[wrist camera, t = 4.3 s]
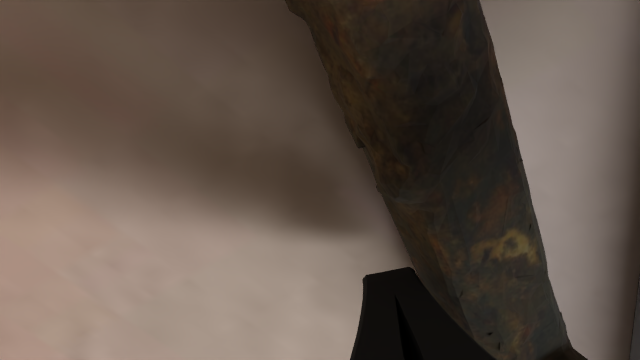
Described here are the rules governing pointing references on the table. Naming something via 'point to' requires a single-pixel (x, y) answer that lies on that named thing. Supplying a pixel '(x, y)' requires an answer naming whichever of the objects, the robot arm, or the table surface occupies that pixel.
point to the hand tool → (445, 161)
